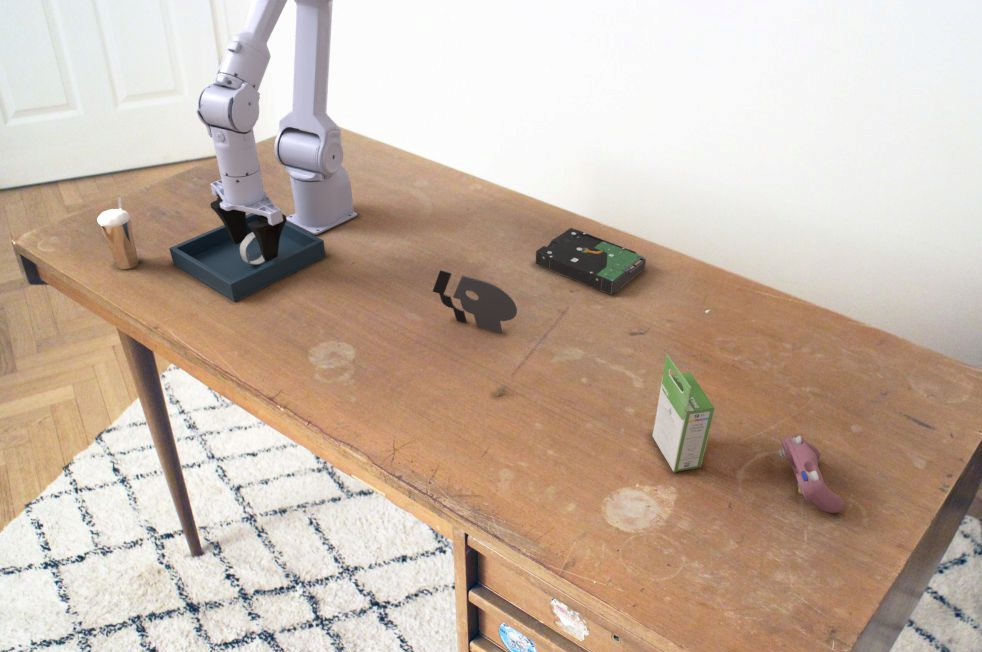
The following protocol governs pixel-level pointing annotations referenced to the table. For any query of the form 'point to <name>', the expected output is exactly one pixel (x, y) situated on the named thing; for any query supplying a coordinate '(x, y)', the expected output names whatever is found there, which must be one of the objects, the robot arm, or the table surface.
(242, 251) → the wristwatch
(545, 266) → the disk drive
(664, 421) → the ink box
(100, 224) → the milkshake
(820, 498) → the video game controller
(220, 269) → the tray
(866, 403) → the table surface
